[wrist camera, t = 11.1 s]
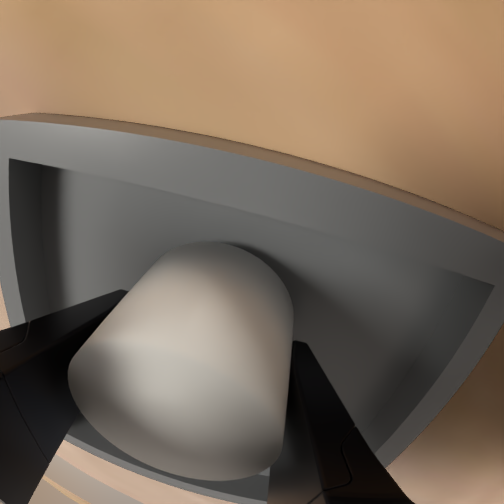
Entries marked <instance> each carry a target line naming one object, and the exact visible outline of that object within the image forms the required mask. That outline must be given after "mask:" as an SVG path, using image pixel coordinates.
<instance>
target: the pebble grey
mask: <svg viewBox="0 0 504 504" xmlns="http://www.w3.org/2000/svg"><path fill="white" fill-rule="evenodd" d="M293 324H294V311H293V305H292V301H291V298H290V295H289V293H288V291H287V289H286V287H285V285H284V283H283V282H282V280H281V279H280V278H279V276H278V275H277V274H276V273H275V272H274V271H273V270H272V269H271V268H270V267H269V266H268V265H267V264H266V263H264V262H263V261H262V260H261V259H259V258H258V257H256V256H254V255H253V254H251V253H249V252H247V251H245V250H243V249H241V248H238V247H235V246H232V245H228V244H223V243H219V242H194V243H189V244H184V245H181V246H179V247H176V248H174V249H172V250H170V251H168V252H167V253H165V254H164V255H163V256H161V257H160V258H159V259H158V260H157V261H156V262H155V263H154V265H153V266H152V267H151V268H150V269H149V270H148V271H147V272H146V273H145V274H144V275H143V277H142V278H141V279H140V280H139V281H138V282H137V283H136V284H135V285H134V287H133V288H132V289H131V290H130V291H129V292H128V293H127V294H126V295H125V297H124V298H123V299H122V300H121V301H120V302H119V303H118V305H117V306H116V307H115V308H114V309H113V310H112V311H111V313H110V314H109V315H108V316H107V317H106V318H105V320H104V321H103V322H102V323H101V324H100V325H99V327H98V328H97V329H96V330H95V331H94V332H93V334H92V335H91V336H90V337H89V338H88V340H87V341H86V342H85V343H84V344H83V346H82V347H81V348H80V349H79V350H78V352H77V353H76V354H75V355H74V357H73V358H72V360H71V362H70V364H69V368H68V383H69V388H70V391H71V394H72V397H73V399H74V401H75V403H76V405H77V406H78V408H79V409H80V411H81V413H82V414H83V415H84V417H85V418H86V419H87V420H88V422H89V423H90V424H91V425H92V426H93V427H94V428H95V429H96V430H97V431H98V432H99V433H100V434H101V435H102V436H103V437H104V438H106V439H107V440H108V441H109V442H111V443H112V444H113V445H115V446H116V447H117V448H119V449H120V450H122V451H123V452H125V453H127V454H128V455H130V456H132V457H133V458H135V459H137V460H139V461H141V462H143V463H145V464H147V465H150V466H152V467H154V468H157V469H159V470H162V471H165V472H168V473H171V474H175V475H179V476H183V477H187V478H193V479H199V480H209V481H226V480H236V479H242V478H246V477H250V476H253V475H256V474H258V473H260V472H262V471H264V470H266V469H267V468H269V467H270V466H271V465H272V464H273V463H274V462H275V461H276V460H277V459H278V457H279V455H280V453H281V451H282V446H283V438H284V429H285V419H286V409H287V399H288V388H289V376H290V364H291V352H292V338H293Z"/></svg>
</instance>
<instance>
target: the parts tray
mask: <svg viewBox="0 0 504 504" xmlns="http://www.w3.org/2000/svg"><path fill="white" fill-rule="evenodd" d="M194 242H219V243H223V244H228V245H232V246H235V247H238V248H241V249H243V250H245V251H247V252H249V253H251V254H253V255H254V256H256V257H258V258H259V259H261V260H262V261H263V262H264V263H266V264H267V265H268V266H269V267H270V268H271V269H272V270H273V271H274V272H275V273H276V274H277V275H278V276H279V278H280V279H281V280H282V282H283V283H284V285H285V287H286V289H287V291H288V293H289V295H290V298H291V301H292V305H293V311H294V324H293V338H292V342H293V341H294V340H297V341H302V342H306V343H307V344H308V345H309V347H310V349H311V350H312V352H313V354H314V355H315V357H316V359H317V361H318V362H319V364H320V366H321V367H322V369H323V371H324V372H325V374H326V376H327V377H328V379H329V381H330V382H331V384H332V386H333V387H334V389H335V391H336V392H337V394H338V396H339V398H340V399H341V401H342V403H343V404H344V406H345V408H346V409H347V411H348V413H349V414H350V416H351V418H352V419H353V421H354V423H355V426H356V427H357V428H358V429H359V431H360V433H361V434H362V436H363V438H364V439H365V441H366V442H367V444H368V446H369V447H370V449H371V450H372V452H373V453H374V454H375V456H376V457H377V458H378V460H379V461H380V463H381V464H382V465H383V467H384V468H386V467H387V466H388V465H389V464H390V463H391V462H392V461H393V460H394V459H395V458H396V457H397V456H399V455H400V454H401V453H402V452H403V451H404V450H405V449H406V448H407V447H408V446H409V445H410V444H411V443H412V442H413V441H414V439H415V438H416V437H417V436H418V435H419V434H420V433H421V432H422V431H423V430H424V429H425V428H426V427H427V426H428V425H429V423H430V422H431V421H432V420H433V419H434V418H435V417H436V415H437V414H438V413H439V412H440V411H441V410H442V408H443V407H444V406H445V405H446V404H447V403H448V401H449V400H450V399H451V398H452V396H453V395H454V394H455V393H456V391H457V390H458V389H459V388H460V386H461V385H462V384H463V382H464V381H465V380H466V378H467V377H468V376H469V374H470V373H471V372H472V370H473V369H474V367H475V366H476V365H477V363H478V362H479V360H480V359H481V357H482V356H483V354H484V353H485V351H486V350H487V348H488V347H489V345H490V344H491V342H492V341H493V339H494V338H495V336H496V334H497V333H498V331H499V330H500V328H501V326H502V325H503V323H504V232H503V231H501V230H499V229H497V228H495V227H492V226H490V225H488V224H486V223H484V222H481V221H479V220H477V219H474V218H472V217H470V216H468V215H465V214H463V213H460V212H458V211H456V210H453V209H451V208H448V207H446V206H443V205H441V204H438V203H436V202H433V201H431V200H428V199H425V198H423V197H420V196H418V195H415V194H412V193H409V192H407V191H404V190H401V189H398V188H396V187H393V186H390V185H387V184H384V183H381V182H378V181H375V180H372V179H369V178H366V177H363V176H360V175H357V174H354V173H351V172H348V171H344V170H341V169H338V168H335V167H331V166H328V165H324V164H321V163H318V162H314V161H311V160H307V159H303V158H300V157H296V156H292V155H289V154H285V153H281V152H277V151H273V150H269V149H265V148H261V147H257V146H253V145H248V144H244V143H240V142H235V141H231V140H226V139H222V138H217V137H212V136H207V135H202V134H197V133H192V132H186V131H181V130H175V129H170V128H164V127H158V126H151V125H145V124H138V123H131V122H124V121H117V120H109V119H100V118H91V117H82V116H71V115H59V114H46V113H28V114H20V115H13V116H6V117H0V283H1V288H2V293H3V297H4V302H5V306H6V310H7V315H8V319H9V322H10V326H11V327H13V326H16V325H19V324H22V323H25V322H29V321H31V320H33V319H36V318H39V317H42V316H45V315H48V314H50V313H53V312H56V311H59V310H62V309H65V308H67V307H70V306H73V305H76V304H79V303H82V302H85V301H87V300H90V299H93V298H96V297H99V296H102V295H105V294H107V293H110V292H113V291H116V290H119V289H124V290H127V291H130V290H131V289H132V288H133V287H134V285H135V284H136V283H137V282H138V281H139V280H140V279H141V278H142V277H143V275H144V274H145V273H146V272H147V271H148V270H149V269H150V268H151V267H152V266H153V265H154V263H155V262H156V261H157V260H158V259H159V258H160V257H161V256H163V255H164V254H165V253H167V252H168V251H170V250H172V249H174V248H176V247H179V246H181V245H184V244H189V243H194ZM64 440H66V441H67V442H69V443H71V444H73V445H75V446H77V447H79V448H81V449H83V450H85V451H87V452H89V453H91V454H93V455H95V456H97V457H100V458H102V459H104V460H106V461H108V462H111V463H113V464H115V465H117V466H120V467H122V468H125V469H127V470H130V471H132V472H135V473H137V474H140V475H142V476H145V477H148V478H150V479H153V480H156V481H159V482H162V483H165V484H168V485H171V486H174V487H177V488H180V489H184V490H187V491H190V492H194V493H197V494H201V495H205V496H209V497H212V498H216V499H221V500H225V501H229V502H234V503H239V504H267V498H268V486H269V474H270V467H269V468H267V469H266V470H264V471H262V472H260V473H258V474H256V475H253V476H250V477H246V478H242V479H236V480H226V481H209V480H199V479H193V478H187V477H183V476H179V475H175V474H171V473H168V472H165V471H162V470H159V469H157V468H154V467H152V466H150V465H147V464H145V463H143V462H141V461H139V460H137V459H135V458H133V457H132V456H130V455H128V454H127V453H125V452H123V451H122V450H120V449H119V448H117V447H116V446H115V445H113V444H112V443H111V442H109V441H108V440H107V439H106V438H104V437H103V436H102V435H101V434H100V433H99V432H98V431H97V430H96V429H95V428H94V427H93V426H92V425H91V424H90V423H89V422H88V420H87V419H86V418H85V417H84V415H83V414H82V413H81V411H80V413H79V414H78V416H77V418H76V419H75V421H74V423H73V424H72V426H71V428H70V429H69V431H68V433H67V434H66V436H65V438H64Z"/></svg>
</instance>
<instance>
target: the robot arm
mask: <svg viewBox="0 0 504 504" xmlns="http://www.w3.org/2000/svg"><path fill="white" fill-rule="evenodd" d="M128 292H129V291H127V290H124V289H119V290H116V291H113V292H110V293H107V294H105V295H102V296H99V297H96V298H93V299H90V300H87V301H85V302H82V303H79V304H76V305H73V306H70V307H67V308H65V309H62V310H59V311H56V312H53V313H50V314H48V315H45V316H42V317H39V318H36V319H33V320H31V321H29V322H25V323H22V324H19V325H16V326H13V327H10V328H7V329H4V330H1V331H0V502H2V503H3V504H28V503H29V501H30V499H31V497H32V495H33V493H34V491H35V489H36V488H37V486H38V484H39V482H40V480H41V478H42V477H43V475H44V473H45V471H46V469H47V468H48V466H49V463H50V462H51V460H52V458H53V457H54V455H55V453H56V451H57V450H58V448H59V446H60V445H61V443H62V441H63V439H64V438H65V436H66V434H67V433H68V431H69V429H70V428H71V426H72V424H73V423H74V421H75V419H76V418H77V416H78V414H79V413H80V409H79V408H78V406H77V405H76V403H75V401H74V399H73V397H72V394H71V391H70V388H69V383H68V368H69V364H70V362H71V360H72V358H73V357H74V355H75V354H76V353H77V352H78V350H79V349H80V348H81V347H82V346H83V344H84V343H85V342H86V341H87V340H88V338H89V337H90V336H91V335H92V334H93V332H94V331H95V330H96V329H97V328H98V327H99V325H100V324H101V323H102V322H103V321H104V320H105V318H106V317H107V316H108V315H109V314H110V313H111V311H112V310H113V309H114V308H115V307H116V306H117V305H118V303H119V302H120V301H121V300H122V299H123V298H124V297H125V295H126V294H127V293H128ZM267 504H415V503H414V502H412V501H411V500H410V499H409V498H408V497H407V496H406V495H405V493H404V492H403V491H402V490H401V488H400V487H399V486H398V485H397V483H396V482H395V481H394V479H393V478H392V477H391V476H390V474H389V473H388V472H387V470H386V469H385V468H384V467H383V465H382V464H381V463H380V461H379V460H378V458H377V457H376V456H375V454H374V453H373V452H372V450H371V449H370V447H369V446H368V444H367V442H366V441H365V439H364V438H363V436H362V434H361V433H360V431H359V429H358V428H357V427H356V426H355V423H354V421H353V419H352V418H351V416H350V414H349V413H348V411H347V409H346V408H345V406H344V404H343V403H342V401H341V399H340V398H339V396H338V394H337V392H336V391H335V389H334V387H333V386H332V384H331V382H330V381H329V379H328V377H327V376H326V374H325V372H324V371H323V369H322V367H321V366H320V364H319V362H318V361H317V359H316V357H315V355H314V354H313V352H312V350H311V349H310V347H309V345H308V344H307V343H306V342H302V341H297V340H294V341H293V342H292V352H291V364H290V376H289V388H288V399H287V409H286V419H285V429H284V438H283V446H282V451H281V453H280V455H279V457H278V459H277V460H276V461H275V462H274V463H273V464H272V465H271V466H270V474H269V486H268V498H267Z"/></svg>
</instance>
